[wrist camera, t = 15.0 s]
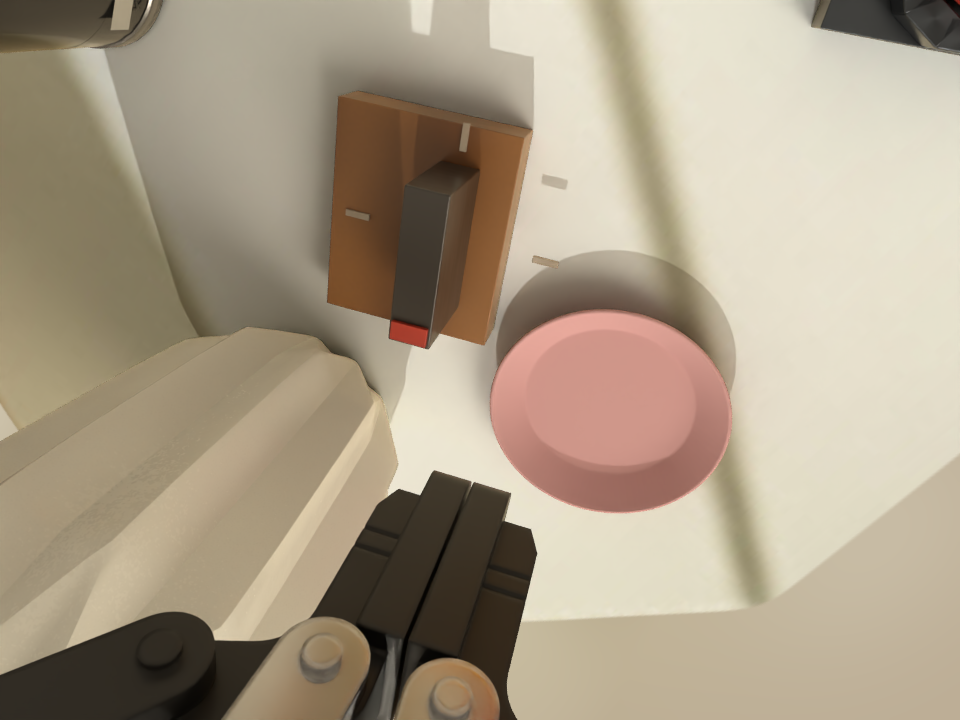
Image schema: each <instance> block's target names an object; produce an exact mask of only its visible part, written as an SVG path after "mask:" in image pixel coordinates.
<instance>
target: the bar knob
mask: <svg viewBox="0 0 960 720" xmlns="http://www.w3.org/2000/svg"><path fill="white" fill-rule="evenodd" d="M479 176H480V170H479V169H475V168H470V167H466V166H462V165H457V164H453V163H449V162H444V161H440V162H438V163H437V164H435V165H434V166H432V167H431V168H429V169H428V170H426V171H425V172H423V173H422V174H420V175H419V176H417V177H416V178H414V179H413V180H412V181H410V182H409V183H407V184H406V185H405V186H404V196H403V205H402V215H401V224H400V234H399V243H398V253H397V262H396V272H395V281H394V291H393V300H392V310H391V319H390V328H389V339H392V340H395V341H399V342H403V343H406V344H410V345H414V346H417V347H421V348H425V349H429V348H430V347H431V345H432V344H433V342H434V341H435V339H436V338H437V337H438V335H439V334H440V332H441V331H442V330H443V328H444V327H445V325H446V324H447V322H448V321H449V320H450V318H451V317H452V315H453V314H454V312H455V311H456V310H457V308H458V306H459V299H460V293H461V287H462V281H463V275H464V268H465V262H466V256H467V250H468V244H469V238H470V231H471V225H472V219H473V213H474V207H475V201H476V194H477V188H478V182H479Z"/></svg>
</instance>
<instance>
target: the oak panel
mask: <svg viewBox="0 0 960 720" xmlns="http://www.w3.org/2000/svg"><path fill="white" fill-rule="evenodd" d="M532 134H533V130H530V129H526V128H521V127H517V126H513V125H508V124H504V123H499V122H495V121H490V120H486V119H481V118H477V117H473V116H468V115H464V114H459V113H455V112H450V111H446V110H441V109H437V108H433V107H428V106H424V105H419V104H415V103H410V102H406V101H401V100H397V99H393V98H388V97H384V96H379V95H375V94H370V93H366V92H361V91H355V92H352V93H348V94H344V95H340V96H339V97H338V113H337V131H336V149H335V167H334V186H333V204H332V222H331V240H330V259H329V277H328V295H327V303H330V304H334V305H337V306H341V307H345V308H348V309H352V310H356V311H359V312H363V313H367V314H370V315H374V316H378V317H381V318H385V319H389V320H390V319H391V310H392V300H393V291H394V281H395V272H396V262H397V253H398V243H399V234H400V224H401V215H402V205H403V196H404V186H405V185H406V184H407V183H409V182H410V181H412V180H413V179H414V178H416V177H417V176H419V175H420V174H422V173H423V172H425V171H426V170H428V169H429V168H431V167H432V166H434V165H435V164H437V163H438V162H440V161H444V162H449V163H453V164H457V165H462V166H466V167H470V168H475V169H479V170H480V176H479V182H478V188H477V194H476V201H475V207H474V213H473V219H472V225H471V231H470V238H469V244H468V250H467V256H466V262H465V268H464V275H463V281H462V287H461V293H460V299H459V306H458V308H457V310H456V311H455V312H454V314H453V315H452V317H451V318H450V320H449V321H448V322H447V324H446V325H445V327H444V328H443V330H442V331H441V332H440V334H444V335H447V336H451V337H455V338H458V339H462V340H466V341H469V342H473V343H477V344H481V345H485V343H486V341H487V339H488V337H489V336H490V334H491V332H492V330H493V328H494V324H495V319H496V314H497V309H498V304H499V299H500V294H501V289H502V284H503V279H504V274H505V269H506V264H507V259H508V254H509V249H510V244H511V239H512V234H513V229H514V224H515V219H516V214H517V209H518V204H519V199H520V194H521V189H522V184H523V179H524V174H525V169H526V164H527V159H528V154H529V149H530V144H531V139H532ZM532 262H533V263H537V264H541V265H545V266H549V267H553V268H558V264H559V262H558V261H554V260H550V259H546V258H542V257H538V256H533V259H532Z"/></svg>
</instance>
